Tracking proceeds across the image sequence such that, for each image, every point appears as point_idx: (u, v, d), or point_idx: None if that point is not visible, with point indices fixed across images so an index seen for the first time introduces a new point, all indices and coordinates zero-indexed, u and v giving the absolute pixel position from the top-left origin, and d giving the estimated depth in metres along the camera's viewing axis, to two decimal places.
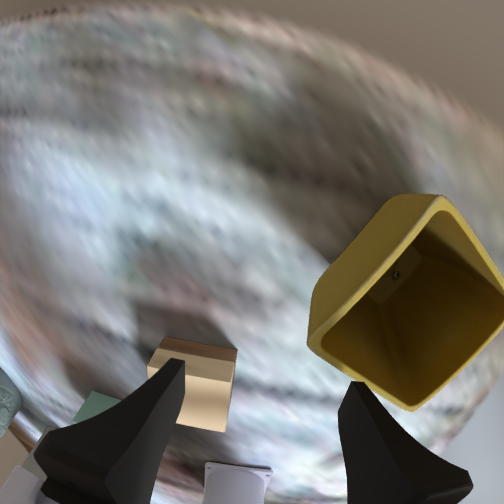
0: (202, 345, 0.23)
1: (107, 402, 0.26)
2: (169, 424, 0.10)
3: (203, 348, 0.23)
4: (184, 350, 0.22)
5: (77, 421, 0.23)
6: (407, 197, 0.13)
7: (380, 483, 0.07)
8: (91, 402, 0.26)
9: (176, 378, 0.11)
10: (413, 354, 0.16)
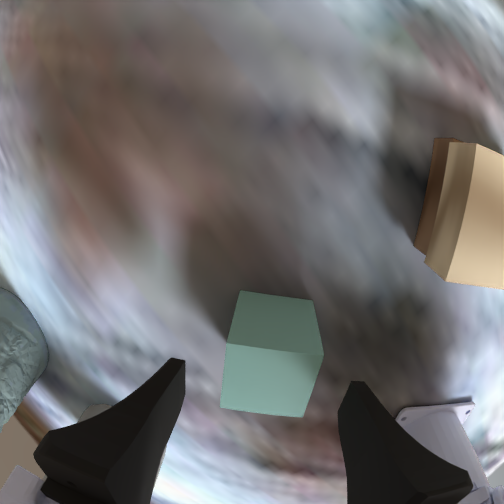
0: None
1: (284, 304, 0.16)
2: (169, 424, 0.10)
3: None
4: None
5: (240, 342, 0.12)
6: None
7: (380, 483, 0.07)
8: (251, 307, 0.15)
9: (176, 378, 0.11)
10: None
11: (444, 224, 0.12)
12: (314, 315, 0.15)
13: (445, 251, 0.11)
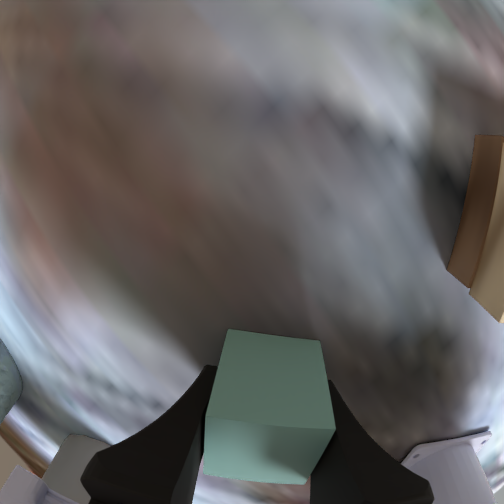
0: None
1: (283, 349, 0.12)
2: None
3: None
4: None
5: (224, 414, 0.08)
6: None
7: (335, 486, 0.07)
8: (241, 355, 0.11)
9: None
10: None
11: (498, 248, 0.08)
12: (322, 364, 0.11)
13: (500, 284, 0.08)
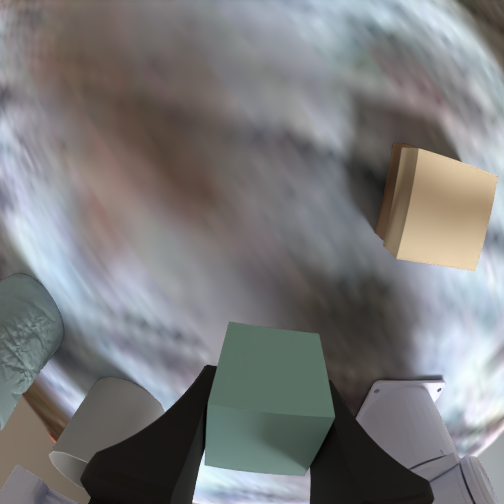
0: None
1: (283, 341, 0.12)
2: None
3: None
4: None
5: (226, 402, 0.09)
6: None
7: (335, 486, 0.07)
8: (242, 347, 0.12)
9: None
10: None
11: (396, 213, 0.16)
12: (321, 356, 0.12)
13: (396, 235, 0.15)
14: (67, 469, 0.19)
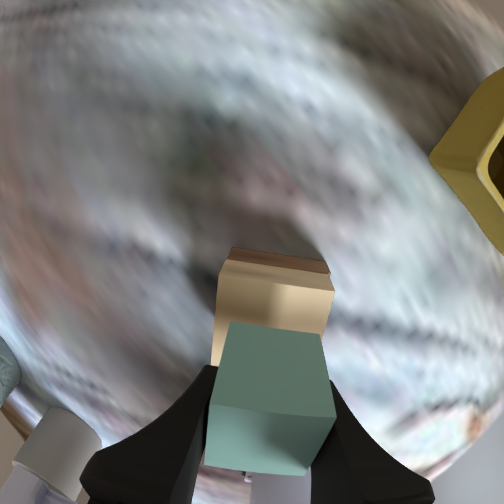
0: (283, 256, 0.19)
1: (284, 341, 0.12)
2: (206, 432, 0.10)
3: (285, 258, 0.19)
4: (263, 259, 0.18)
5: (228, 402, 0.09)
6: None
7: (336, 486, 0.07)
8: (243, 346, 0.12)
9: None
10: None
11: None
12: (323, 356, 0.12)
13: None
14: None
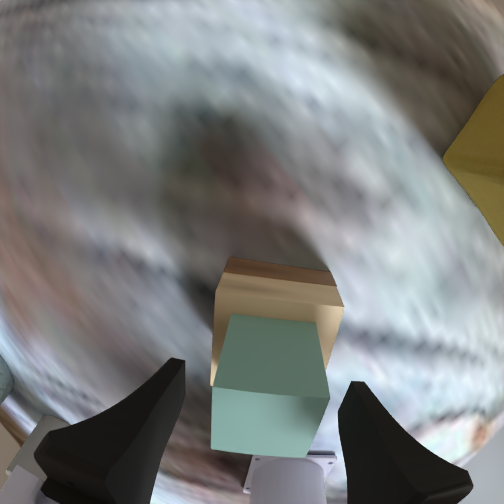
0: (285, 267, 0.17)
1: (282, 330, 0.13)
2: (169, 424, 0.10)
3: (287, 269, 0.17)
4: (263, 271, 0.16)
5: (229, 385, 0.10)
6: None
7: (380, 483, 0.07)
8: (243, 336, 0.13)
9: (176, 378, 0.11)
10: None
11: None
12: (318, 343, 0.12)
13: None
14: None
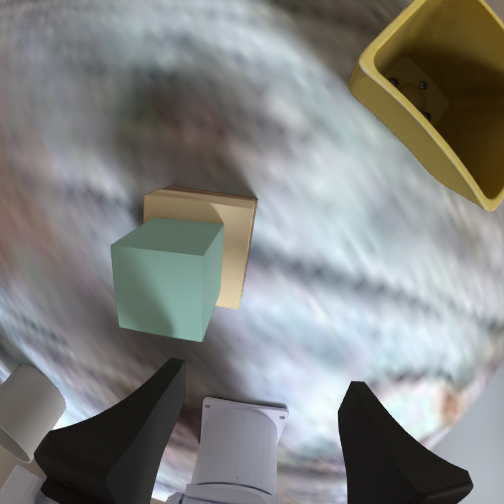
0: (215, 193, 0.20)
1: (190, 225, 0.15)
2: (169, 424, 0.10)
3: (216, 194, 0.19)
4: (193, 192, 0.19)
5: (123, 245, 0.12)
6: None
7: (380, 483, 0.07)
8: (154, 226, 0.15)
9: (176, 378, 0.11)
10: (467, 169, 0.13)
11: None
12: (217, 232, 0.15)
13: None
14: None
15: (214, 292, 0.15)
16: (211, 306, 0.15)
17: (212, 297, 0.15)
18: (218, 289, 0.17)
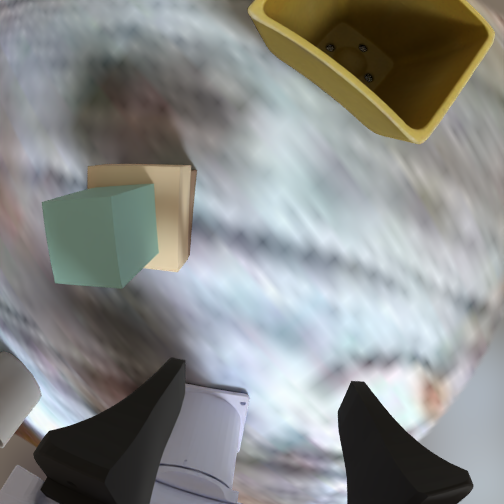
0: None
1: (120, 186, 0.15)
2: (169, 424, 0.10)
3: None
4: None
5: (52, 200, 0.12)
6: None
7: (380, 483, 0.07)
8: (89, 190, 0.15)
9: (176, 378, 0.11)
10: (402, 114, 0.13)
11: None
12: (141, 186, 0.14)
13: None
14: None
15: (143, 247, 0.15)
16: (138, 259, 0.14)
17: (139, 250, 0.14)
18: (153, 248, 0.16)
